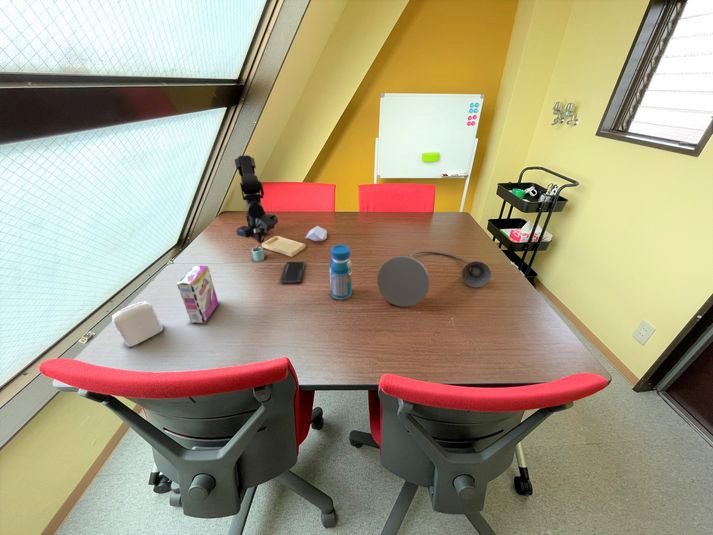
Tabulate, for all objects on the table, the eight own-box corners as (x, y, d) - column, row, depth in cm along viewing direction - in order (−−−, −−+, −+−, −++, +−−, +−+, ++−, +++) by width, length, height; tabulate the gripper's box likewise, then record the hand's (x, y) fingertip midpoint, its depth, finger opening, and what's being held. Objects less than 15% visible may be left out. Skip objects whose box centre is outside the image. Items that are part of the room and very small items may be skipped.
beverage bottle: (335, 302, 108) (334, 256, 97) (327, 290, 114) (324, 246, 103) (355, 296, 111) (356, 251, 100) (346, 285, 117) (346, 241, 106)
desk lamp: (489, 327, 97) (374, 300, 108) (480, 287, 138) (397, 270, 149) (503, 275, 91) (380, 252, 103) (489, 249, 133) (403, 235, 144)
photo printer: (129, 349, 88) (111, 319, 81) (124, 342, 90) (106, 312, 83) (165, 330, 94) (151, 301, 88) (160, 324, 97) (146, 295, 90)
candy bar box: (205, 324, 97) (191, 284, 88) (191, 323, 97) (175, 284, 88) (219, 302, 107) (208, 265, 98) (206, 302, 107) (193, 264, 98)
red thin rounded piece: (253, 251, 132) (250, 232, 127) (255, 250, 133) (251, 232, 128) (265, 255, 130) (262, 236, 124) (267, 255, 130) (264, 235, 125)
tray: (262, 247, 143) (261, 243, 142) (276, 239, 151) (276, 235, 150) (291, 256, 135) (291, 253, 134) (305, 247, 143) (305, 243, 142)
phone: (280, 281, 117) (287, 261, 129) (281, 283, 117) (287, 264, 130) (300, 281, 117) (304, 261, 129) (300, 283, 117) (305, 264, 130)
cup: (251, 259, 133) (249, 250, 130) (258, 254, 137) (257, 245, 134) (259, 262, 131) (257, 252, 128) (266, 257, 135) (265, 248, 132)
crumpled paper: (322, 245, 146) (328, 234, 156) (322, 233, 142) (328, 222, 153) (305, 244, 146) (312, 232, 157) (304, 232, 143) (311, 221, 154)
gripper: (252, 221, 109) (259, 256, 117) (285, 206, 123) (289, 238, 131) (231, 215, 113) (239, 250, 122) (265, 201, 127) (270, 233, 136)
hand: (261, 243), depth 128 cm, fingers closed on red thin rounded piece, 1 cm apart
